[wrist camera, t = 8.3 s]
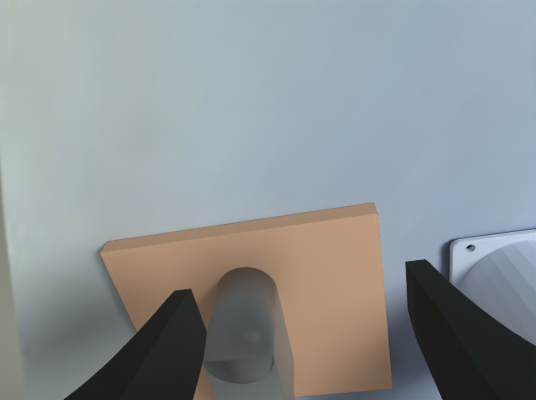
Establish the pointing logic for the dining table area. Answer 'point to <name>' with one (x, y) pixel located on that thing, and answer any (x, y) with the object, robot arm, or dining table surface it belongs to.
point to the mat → (278, 288)
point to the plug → (248, 340)
